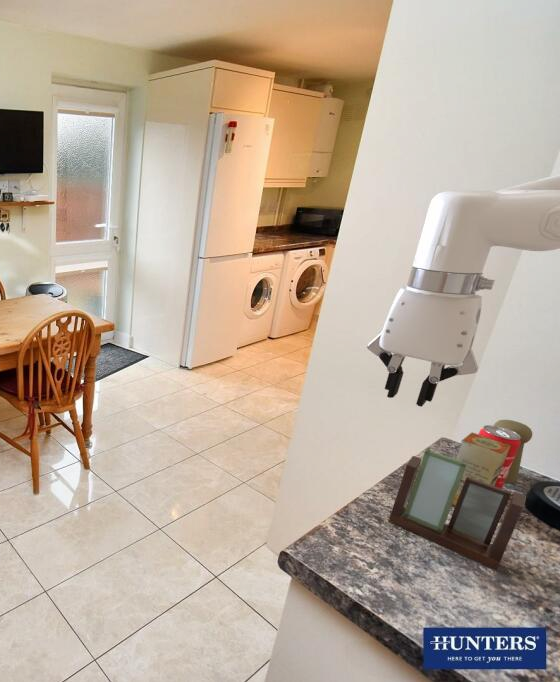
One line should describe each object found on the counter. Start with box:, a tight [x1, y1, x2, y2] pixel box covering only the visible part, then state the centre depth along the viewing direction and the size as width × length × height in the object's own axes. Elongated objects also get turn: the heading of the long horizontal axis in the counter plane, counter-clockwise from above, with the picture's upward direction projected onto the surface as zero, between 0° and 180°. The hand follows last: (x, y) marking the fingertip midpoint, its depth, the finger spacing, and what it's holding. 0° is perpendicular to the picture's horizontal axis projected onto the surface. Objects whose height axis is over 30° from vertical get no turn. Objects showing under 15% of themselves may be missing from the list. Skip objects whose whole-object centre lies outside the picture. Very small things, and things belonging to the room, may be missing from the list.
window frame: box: [388, 455, 527, 571], centre depth 68 cm, size 13×4×11 cm, turn 41°
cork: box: [492, 419, 533, 484], centre depth 85 cm, size 6×6×11 cm
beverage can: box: [477, 424, 521, 489], centre depth 80 cm, size 5×5×12 cm
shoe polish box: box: [452, 431, 511, 507], centre depth 76 cm, size 5×5×12 cm
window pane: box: [403, 448, 467, 532], centre depth 69 cm, size 5×1×12 cm, turn 41°
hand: (406, 398), depth 69 cm, fingers open, 3 cm apart
